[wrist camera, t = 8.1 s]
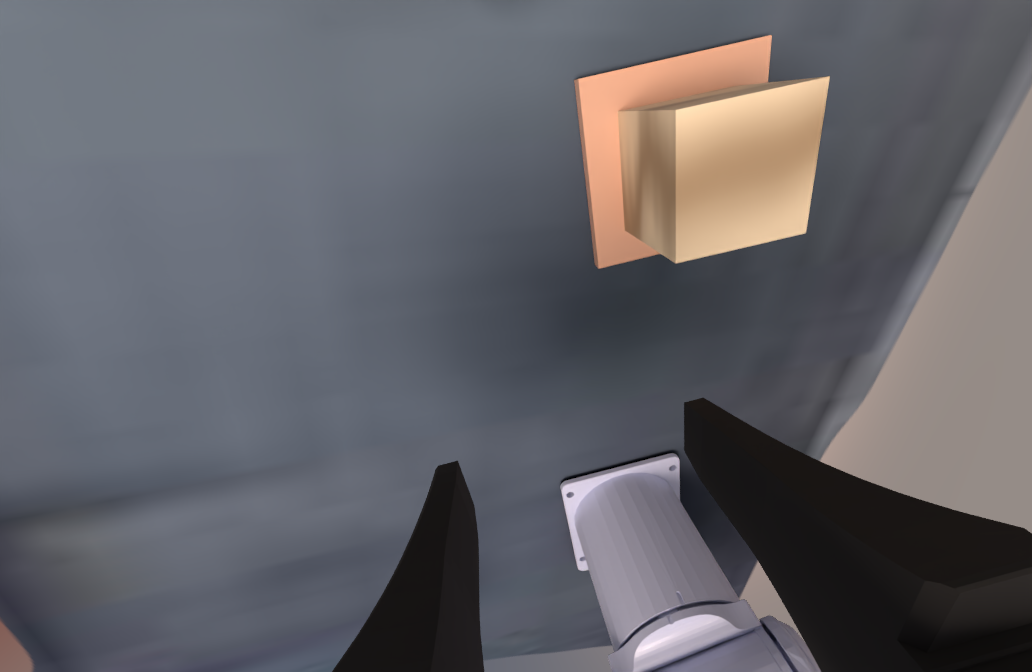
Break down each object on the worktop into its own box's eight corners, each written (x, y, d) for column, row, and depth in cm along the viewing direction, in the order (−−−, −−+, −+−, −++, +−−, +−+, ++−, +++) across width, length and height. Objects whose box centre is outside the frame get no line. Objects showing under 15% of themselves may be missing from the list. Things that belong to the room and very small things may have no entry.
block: (726, 207, 20) (805, 233, 15) (624, 230, 20) (675, 263, 15) (733, 86, 17) (829, 76, 13) (617, 111, 17) (675, 109, 13)
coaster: (748, 227, 21) (755, 230, 21) (594, 264, 21) (598, 268, 20) (762, 37, 17) (771, 34, 17) (573, 80, 17) (578, 78, 16)
